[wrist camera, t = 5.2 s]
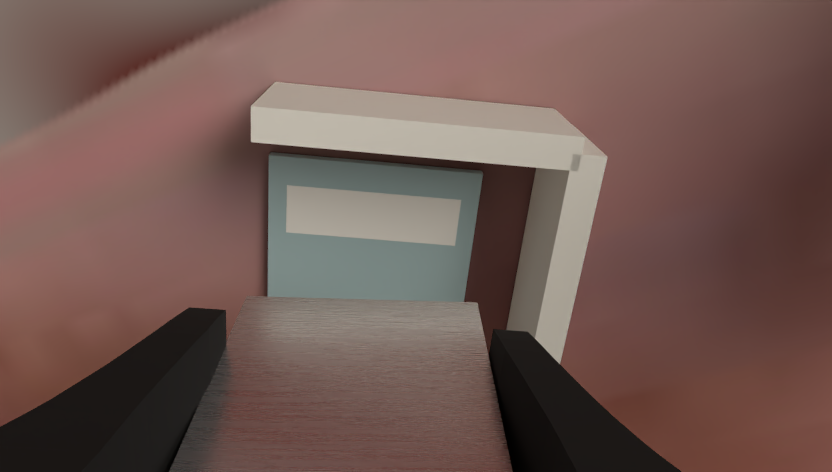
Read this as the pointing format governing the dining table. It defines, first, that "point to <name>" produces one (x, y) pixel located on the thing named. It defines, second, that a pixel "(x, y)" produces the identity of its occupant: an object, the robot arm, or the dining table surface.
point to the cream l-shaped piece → (474, 142)
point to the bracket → (349, 391)
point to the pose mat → (369, 229)
